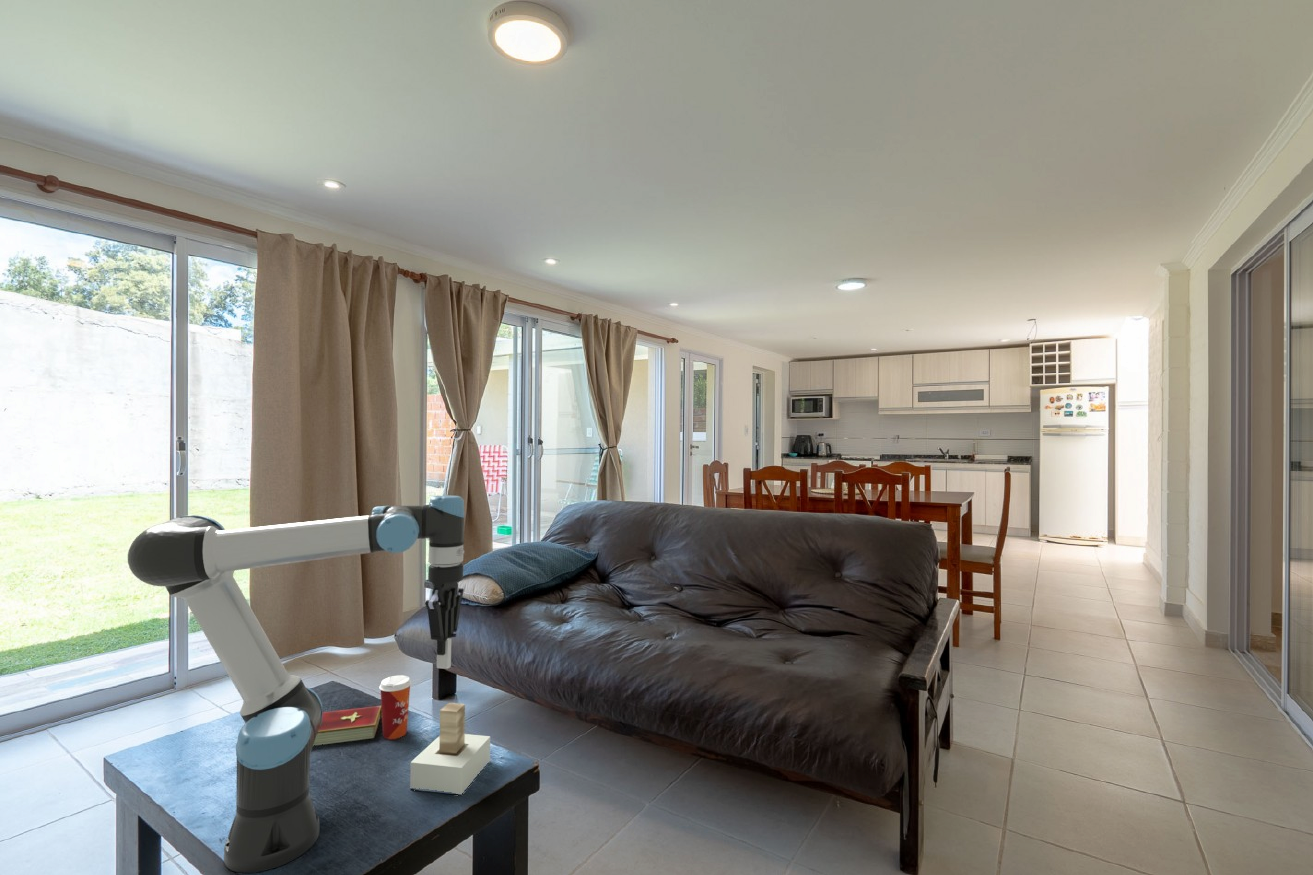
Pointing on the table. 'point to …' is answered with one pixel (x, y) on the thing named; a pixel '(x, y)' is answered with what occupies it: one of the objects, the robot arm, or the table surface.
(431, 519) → the robot arm
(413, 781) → the socket block
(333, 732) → the hardcover book
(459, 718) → the maple peg
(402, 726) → the paper cup
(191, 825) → the table surface
